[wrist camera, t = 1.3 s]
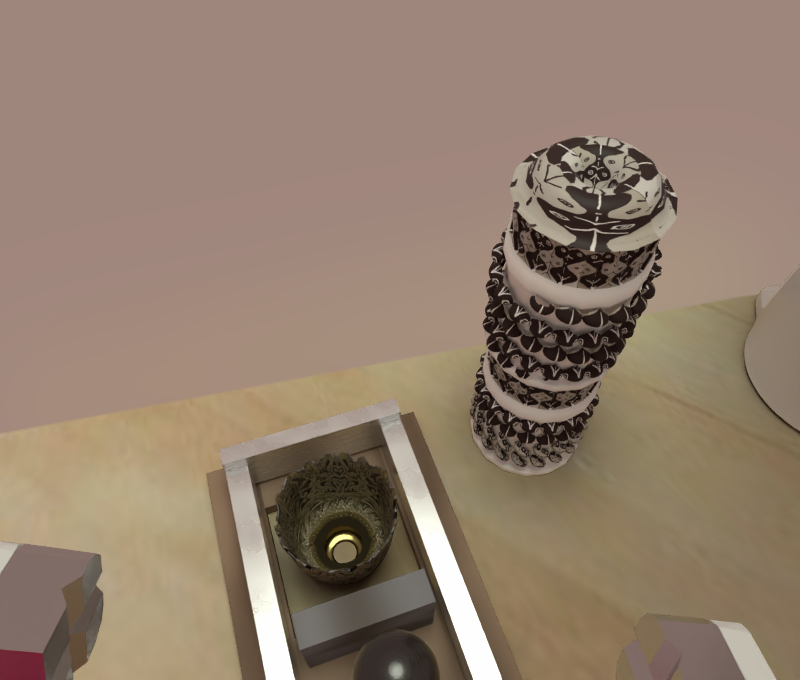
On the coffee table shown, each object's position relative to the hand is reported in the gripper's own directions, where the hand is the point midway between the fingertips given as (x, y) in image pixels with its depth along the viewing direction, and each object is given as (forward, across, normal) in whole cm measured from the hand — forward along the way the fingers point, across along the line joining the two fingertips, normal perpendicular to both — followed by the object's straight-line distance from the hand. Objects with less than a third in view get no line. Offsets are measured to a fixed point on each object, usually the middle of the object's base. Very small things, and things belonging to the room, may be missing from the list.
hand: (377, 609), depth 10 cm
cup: (+26, -2, +27) cm, 37 cm away
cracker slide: (+23, -3, +26) cm, 35 cm away
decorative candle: (+35, -15, +20) cm, 43 cm away
